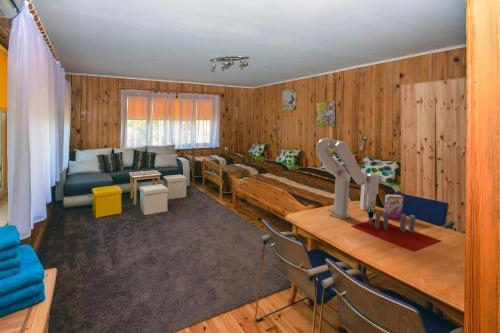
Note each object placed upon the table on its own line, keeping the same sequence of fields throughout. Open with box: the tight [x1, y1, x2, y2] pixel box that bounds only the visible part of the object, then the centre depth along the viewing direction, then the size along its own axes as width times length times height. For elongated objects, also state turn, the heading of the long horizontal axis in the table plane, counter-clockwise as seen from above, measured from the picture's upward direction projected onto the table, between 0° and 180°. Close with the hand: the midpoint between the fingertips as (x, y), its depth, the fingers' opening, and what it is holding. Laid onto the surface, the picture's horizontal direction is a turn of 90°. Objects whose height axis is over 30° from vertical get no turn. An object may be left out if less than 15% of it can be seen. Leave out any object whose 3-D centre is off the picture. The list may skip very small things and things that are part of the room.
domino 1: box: [374, 211, 381, 230], centre depth 187 cm, size 2×5×10 cm, turn 163°
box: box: [359, 183, 368, 211], centre depth 225 cm, size 8×8×25 cm
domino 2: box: [382, 211, 390, 231], centre depth 186 cm, size 2×5×10 cm, turn 163°
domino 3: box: [399, 213, 407, 233], centre depth 183 cm, size 2×5×10 cm, turn 163°
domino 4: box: [408, 214, 416, 233], centre depth 181 cm, size 2×5×10 cm, turn 162°
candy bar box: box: [382, 194, 404, 219], centre depth 206 cm, size 11×5×16 cm, turn 84°
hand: (370, 215), depth 202 cm, fingers open, 6 cm apart
